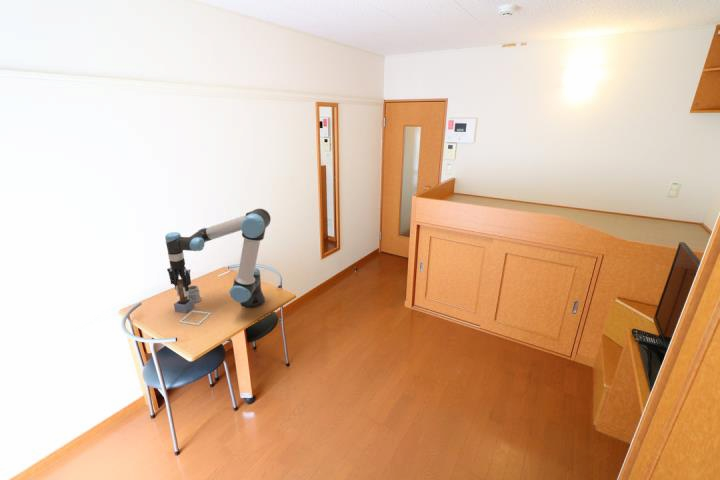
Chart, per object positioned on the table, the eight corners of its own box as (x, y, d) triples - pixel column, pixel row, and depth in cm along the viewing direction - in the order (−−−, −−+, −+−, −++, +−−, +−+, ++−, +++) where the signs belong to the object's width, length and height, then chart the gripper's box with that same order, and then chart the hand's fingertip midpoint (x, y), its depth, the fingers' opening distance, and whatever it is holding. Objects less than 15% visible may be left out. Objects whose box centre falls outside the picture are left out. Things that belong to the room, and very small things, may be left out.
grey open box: (194, 307, 204) (193, 299, 202) (186, 314, 197) (185, 305, 195) (183, 306, 205) (182, 297, 203) (175, 312, 198) (173, 304, 196)
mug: (197, 304, 207) (195, 287, 203) (178, 303, 207) (175, 286, 203) (203, 298, 214) (201, 282, 210) (185, 297, 214) (182, 281, 210)
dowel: (189, 302, 201) (185, 279, 195) (185, 306, 197) (181, 282, 192) (183, 302, 202) (179, 278, 196) (179, 305, 198) (175, 281, 192)
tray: (211, 315, 197) (211, 313, 197) (198, 327, 186) (198, 324, 186) (193, 312, 199) (192, 310, 199) (179, 324, 188) (179, 321, 187)
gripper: (194, 258, 191) (200, 293, 199) (168, 255, 194) (174, 290, 202) (185, 263, 184) (191, 300, 192) (158, 260, 187) (165, 296, 195)
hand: (183, 295), depth 197 cm, fingers closed on dowel, 4 cm apart
